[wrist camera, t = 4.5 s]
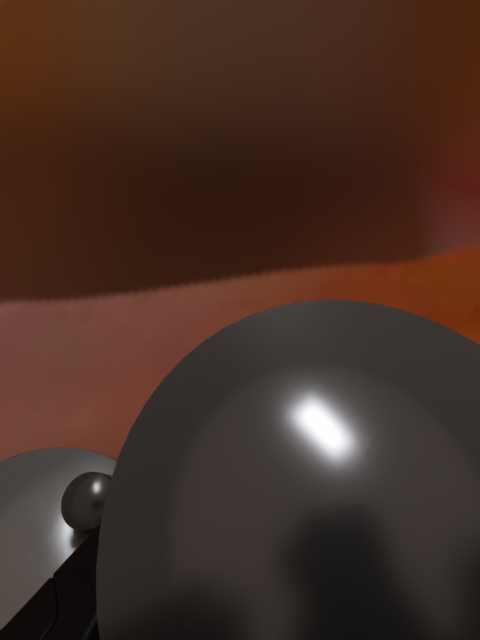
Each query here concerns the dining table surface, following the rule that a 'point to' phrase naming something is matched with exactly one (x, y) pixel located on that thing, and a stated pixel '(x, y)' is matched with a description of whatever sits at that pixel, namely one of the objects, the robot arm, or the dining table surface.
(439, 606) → the capped frosted bottle
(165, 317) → the dining table surface
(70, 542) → the plate
